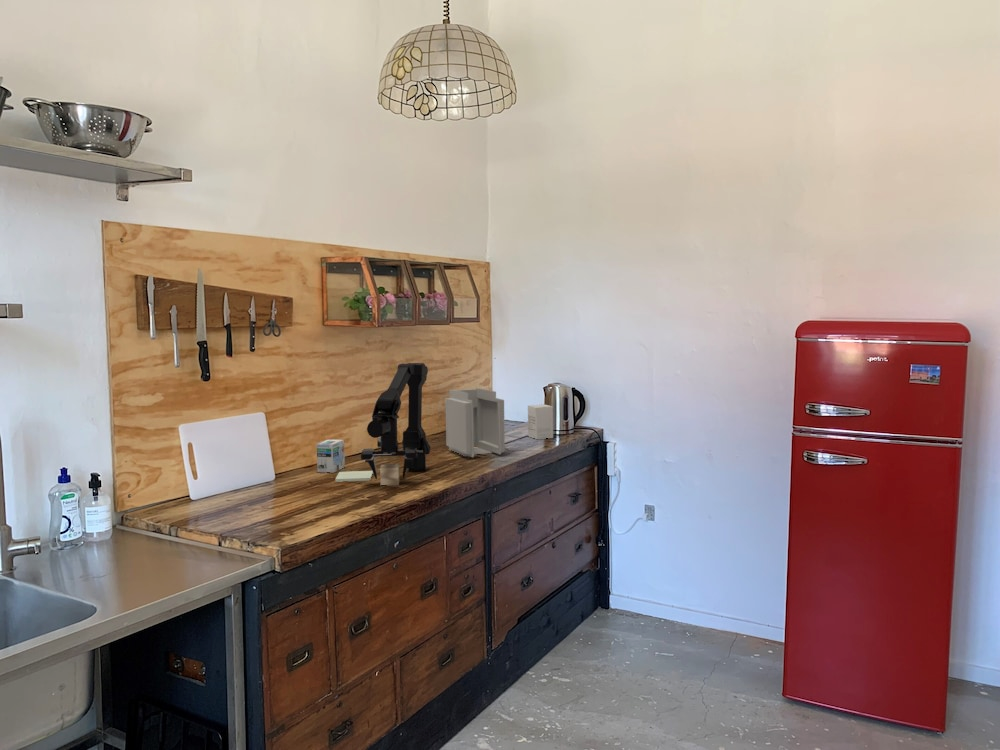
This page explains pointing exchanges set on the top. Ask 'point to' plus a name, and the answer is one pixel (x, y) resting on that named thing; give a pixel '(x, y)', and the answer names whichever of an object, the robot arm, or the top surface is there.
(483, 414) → the gray open cabinet
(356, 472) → the sage board
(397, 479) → the birch cube
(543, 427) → the supplement box
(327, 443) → the light bulb box
